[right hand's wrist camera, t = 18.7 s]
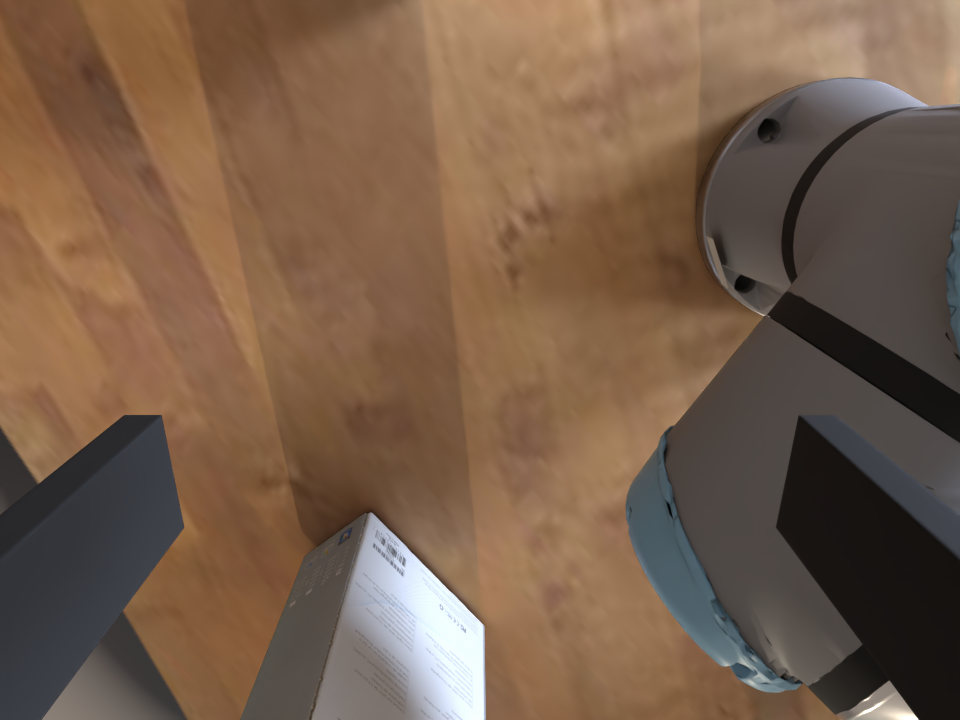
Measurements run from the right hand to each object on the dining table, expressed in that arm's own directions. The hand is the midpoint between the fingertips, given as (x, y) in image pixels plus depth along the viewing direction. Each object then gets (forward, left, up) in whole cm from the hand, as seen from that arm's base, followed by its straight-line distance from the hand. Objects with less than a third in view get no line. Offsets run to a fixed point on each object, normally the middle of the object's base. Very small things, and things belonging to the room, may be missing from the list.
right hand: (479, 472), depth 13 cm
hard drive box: (+7, +30, -31) cm, 43 cm away
